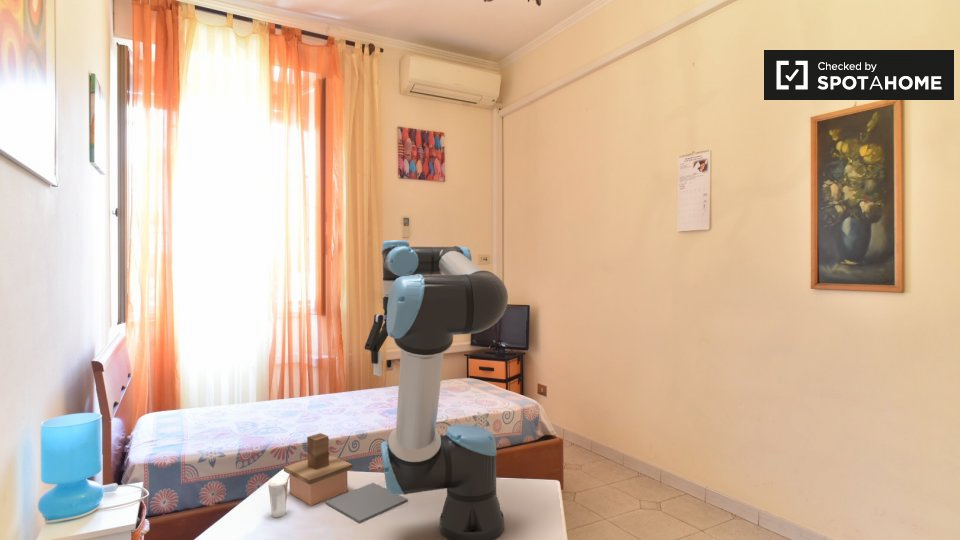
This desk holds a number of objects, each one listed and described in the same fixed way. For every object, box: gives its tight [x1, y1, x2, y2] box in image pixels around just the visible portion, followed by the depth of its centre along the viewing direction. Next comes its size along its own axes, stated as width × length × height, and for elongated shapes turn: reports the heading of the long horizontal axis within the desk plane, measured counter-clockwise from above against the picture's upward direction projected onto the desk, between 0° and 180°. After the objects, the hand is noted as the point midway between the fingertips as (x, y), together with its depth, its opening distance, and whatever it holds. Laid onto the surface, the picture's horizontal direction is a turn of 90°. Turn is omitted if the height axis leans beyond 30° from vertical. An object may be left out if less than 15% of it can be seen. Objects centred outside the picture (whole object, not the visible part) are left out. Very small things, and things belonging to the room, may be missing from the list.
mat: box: [324, 482, 409, 524], centre depth 136 cm, size 15×15×1 cm
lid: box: [283, 432, 353, 485], centre depth 142 cm, size 13×13×9 cm
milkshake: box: [267, 474, 290, 518], centre depth 130 cm, size 4×5×10 cm
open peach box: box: [288, 471, 349, 506], centre depth 142 cm, size 11×11×6 cm
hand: (397, 371), depth 147 cm, fingers open, 13 cm apart
